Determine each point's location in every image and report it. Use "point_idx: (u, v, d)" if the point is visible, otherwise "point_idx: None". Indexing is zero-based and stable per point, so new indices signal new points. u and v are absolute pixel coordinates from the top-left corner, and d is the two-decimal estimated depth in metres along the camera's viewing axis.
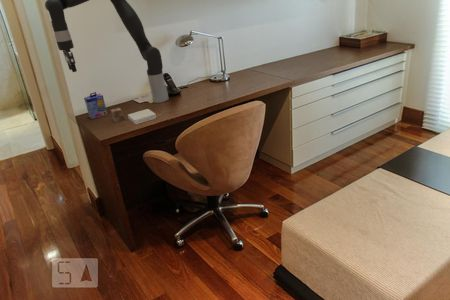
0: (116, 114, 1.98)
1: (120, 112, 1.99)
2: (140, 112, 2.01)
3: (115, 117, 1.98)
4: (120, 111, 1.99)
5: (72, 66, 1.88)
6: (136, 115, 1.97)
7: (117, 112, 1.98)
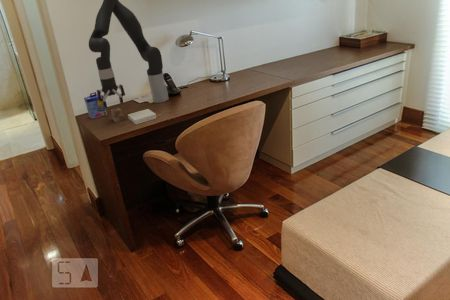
0: (116, 114, 1.98)
1: (120, 112, 1.99)
2: (140, 112, 2.01)
3: (115, 117, 1.98)
4: (120, 111, 1.99)
5: (122, 98, 1.99)
6: (136, 115, 1.97)
7: (117, 112, 1.98)
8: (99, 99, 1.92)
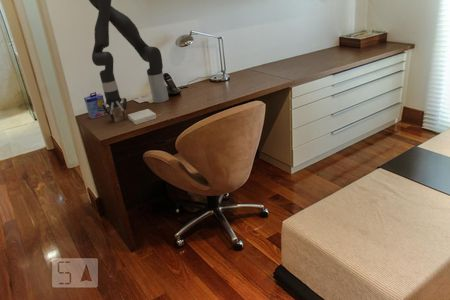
0: (116, 114, 1.98)
1: (120, 112, 1.99)
2: (140, 112, 2.01)
3: (115, 117, 1.98)
4: (120, 111, 1.99)
5: (123, 111, 2.02)
6: (136, 115, 1.97)
7: (117, 112, 1.98)
8: (106, 112, 1.96)
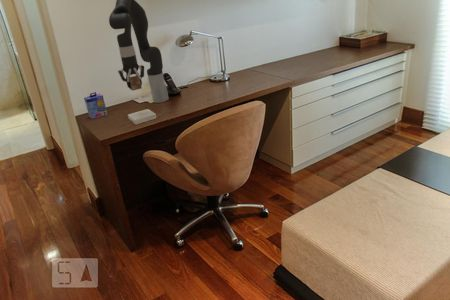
0: (133, 82, 1.88)
1: (138, 80, 1.89)
2: (140, 112, 2.01)
3: (132, 85, 1.88)
4: (138, 79, 1.89)
5: None
6: (136, 115, 1.97)
7: (134, 79, 1.88)
8: (123, 79, 1.86)
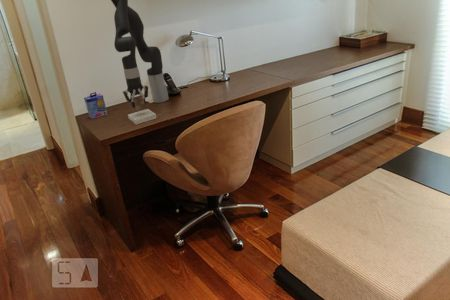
0: (137, 102, 1.93)
1: (142, 100, 1.94)
2: (140, 112, 2.01)
3: (136, 105, 1.93)
4: (142, 99, 1.94)
5: None
6: (136, 115, 1.97)
7: (139, 100, 1.93)
8: (128, 100, 1.91)
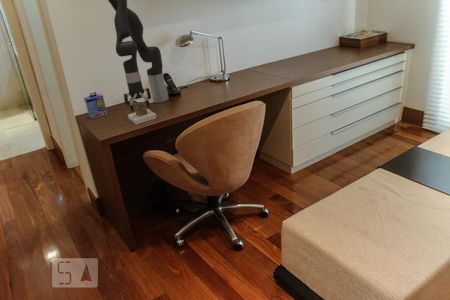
0: (139, 108, 1.94)
1: (144, 106, 1.95)
2: None
3: (138, 111, 1.95)
4: (143, 105, 1.95)
5: (148, 101, 1.98)
6: (136, 115, 1.97)
7: (140, 106, 1.94)
8: (126, 103, 1.91)
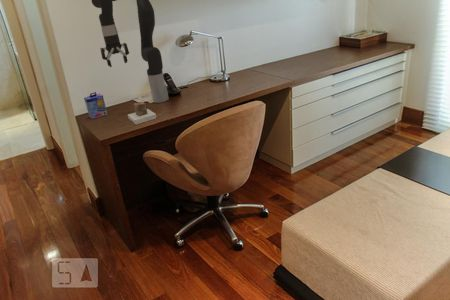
0: (139, 108, 1.94)
1: (144, 106, 1.95)
2: None
3: (138, 111, 1.95)
4: (143, 105, 1.95)
5: (126, 57, 1.96)
6: (136, 115, 1.97)
7: (140, 106, 1.94)
8: (103, 57, 1.89)
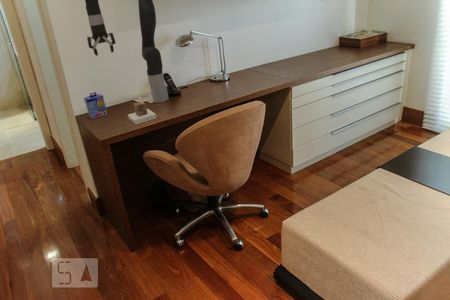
0: (139, 108, 1.94)
1: (144, 106, 1.95)
2: None
3: (138, 111, 1.95)
4: (143, 105, 1.95)
5: (112, 46, 2.02)
6: (136, 115, 1.97)
7: (140, 106, 1.94)
8: (90, 46, 1.95)
